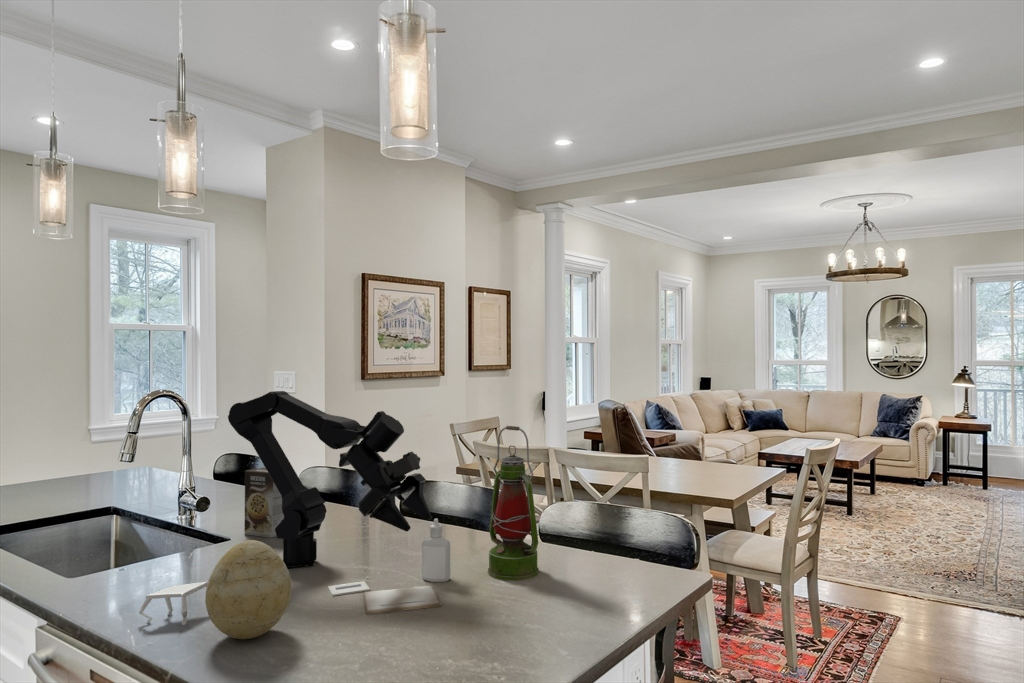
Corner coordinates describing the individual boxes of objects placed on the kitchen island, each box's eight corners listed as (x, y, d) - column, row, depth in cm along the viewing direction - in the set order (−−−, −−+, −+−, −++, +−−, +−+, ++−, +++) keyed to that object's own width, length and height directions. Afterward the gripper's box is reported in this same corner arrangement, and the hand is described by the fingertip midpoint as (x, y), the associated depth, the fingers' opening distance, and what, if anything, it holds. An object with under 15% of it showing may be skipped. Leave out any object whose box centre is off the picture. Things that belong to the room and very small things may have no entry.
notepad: (366, 614, 116) (366, 610, 116) (363, 594, 125) (363, 591, 125) (440, 606, 119) (440, 602, 119) (432, 588, 129) (432, 584, 129)
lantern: (471, 571, 139) (470, 426, 140) (507, 559, 147) (506, 422, 148) (520, 586, 130) (519, 430, 130) (555, 573, 137) (554, 426, 138)
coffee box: (243, 534, 170) (243, 470, 170) (261, 528, 176) (261, 466, 176) (271, 538, 166) (271, 472, 167) (289, 531, 172) (289, 468, 173)
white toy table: (166, 634, 108) (166, 603, 108) (136, 623, 112) (137, 594, 113) (231, 610, 118) (231, 582, 119) (202, 601, 123) (202, 574, 123)
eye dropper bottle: (435, 585, 131) (435, 523, 131) (418, 578, 135) (418, 518, 135) (453, 580, 134) (453, 519, 134) (436, 573, 138) (436, 514, 138)
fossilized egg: (264, 655, 100) (264, 554, 100) (187, 649, 102) (187, 550, 102) (305, 622, 112) (305, 532, 113) (235, 618, 114) (236, 529, 115)
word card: (332, 596, 125) (332, 594, 125) (327, 587, 129) (327, 586, 129) (370, 590, 128) (369, 588, 128) (364, 582, 132) (364, 580, 132)
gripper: (371, 446, 129) (423, 507, 125) (417, 435, 147) (464, 489, 143) (336, 485, 132) (386, 546, 127) (385, 470, 149) (431, 523, 145)
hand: (419, 524), depth 136 cm, fingers open, 9 cm apart
